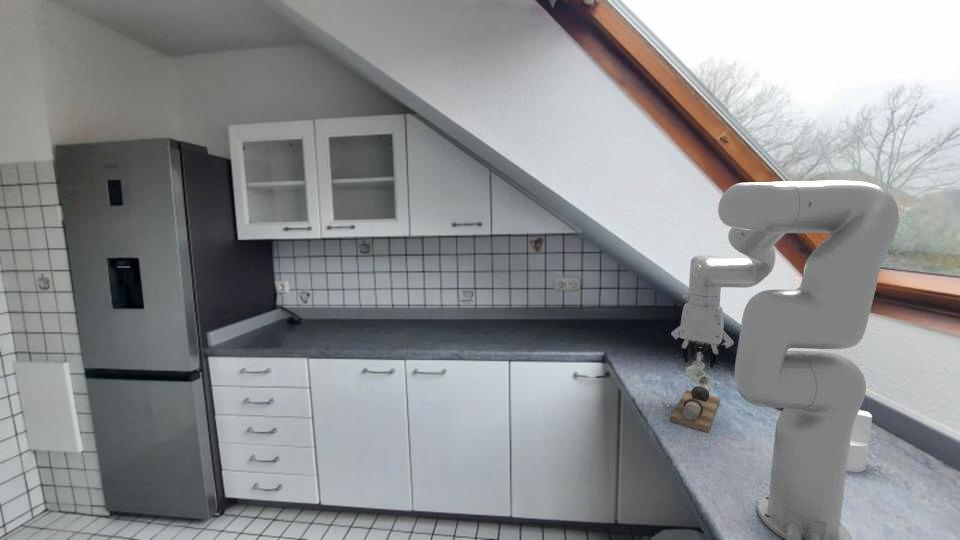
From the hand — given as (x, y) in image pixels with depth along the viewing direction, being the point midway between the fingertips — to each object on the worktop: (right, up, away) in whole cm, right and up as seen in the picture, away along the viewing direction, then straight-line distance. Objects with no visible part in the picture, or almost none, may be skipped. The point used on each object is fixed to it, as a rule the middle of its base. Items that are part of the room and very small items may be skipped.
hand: (699, 363), depth 106 cm
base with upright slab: (+19, -17, -20) cm, 33 cm away
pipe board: (0, -14, +2) cm, 14 cm away
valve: (0, -6, +1) cm, 6 cm away
